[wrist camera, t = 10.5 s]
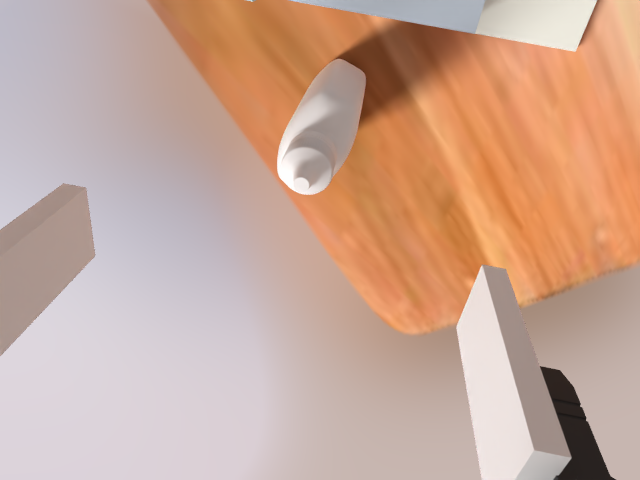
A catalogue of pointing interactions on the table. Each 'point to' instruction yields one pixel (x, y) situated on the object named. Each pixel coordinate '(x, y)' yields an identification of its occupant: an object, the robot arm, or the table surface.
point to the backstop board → (536, 21)
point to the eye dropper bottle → (322, 128)
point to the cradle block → (415, 11)
